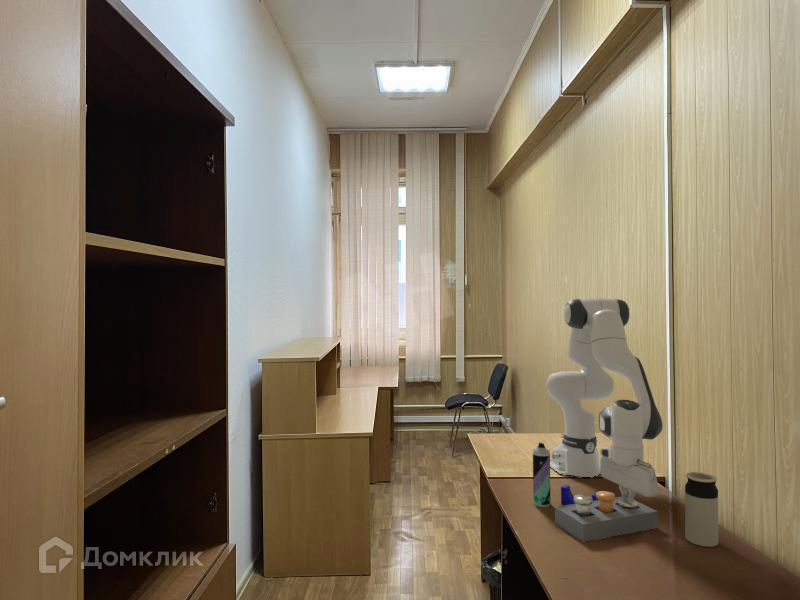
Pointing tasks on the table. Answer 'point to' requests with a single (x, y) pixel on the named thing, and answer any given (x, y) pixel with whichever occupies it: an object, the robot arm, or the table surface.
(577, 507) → the near knob
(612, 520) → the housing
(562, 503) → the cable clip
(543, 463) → the spray can
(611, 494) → the orange knob
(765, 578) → the table surface
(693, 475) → the travel mug
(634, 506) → the far knob
